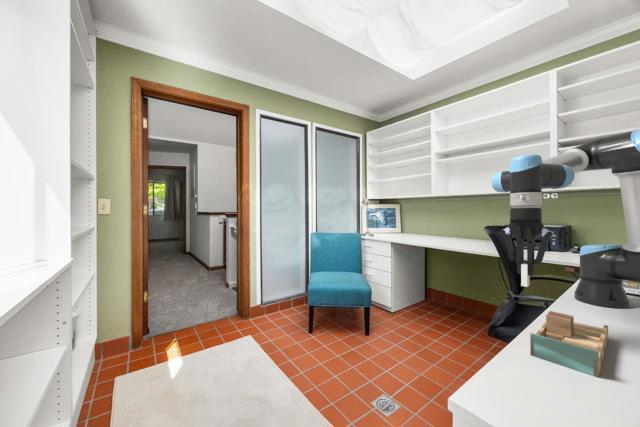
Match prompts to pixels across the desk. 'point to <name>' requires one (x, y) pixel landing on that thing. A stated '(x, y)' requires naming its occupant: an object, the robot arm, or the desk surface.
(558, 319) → the block
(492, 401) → the desk surface
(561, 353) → the tray
